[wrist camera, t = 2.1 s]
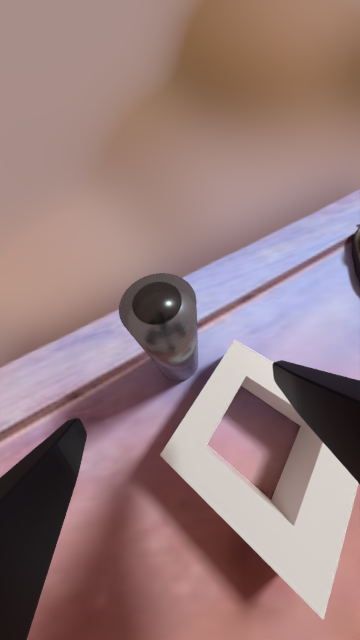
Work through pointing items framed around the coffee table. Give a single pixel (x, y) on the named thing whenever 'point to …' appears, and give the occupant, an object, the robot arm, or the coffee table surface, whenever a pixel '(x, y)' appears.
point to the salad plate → (356, 252)
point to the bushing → (163, 322)
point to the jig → (291, 491)
